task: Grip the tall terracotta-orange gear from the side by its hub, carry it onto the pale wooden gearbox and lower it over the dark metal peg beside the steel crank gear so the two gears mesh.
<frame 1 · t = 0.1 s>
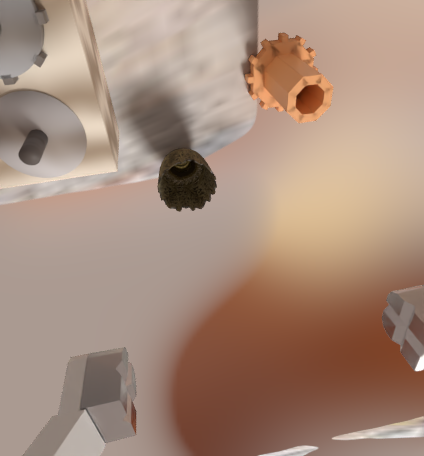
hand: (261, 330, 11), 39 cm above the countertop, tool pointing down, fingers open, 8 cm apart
gearbox: (38, 56, 39), on the countertop
orange gear: (279, 72, 44), on the countertop
cup: (180, 157, 50), on the countertop
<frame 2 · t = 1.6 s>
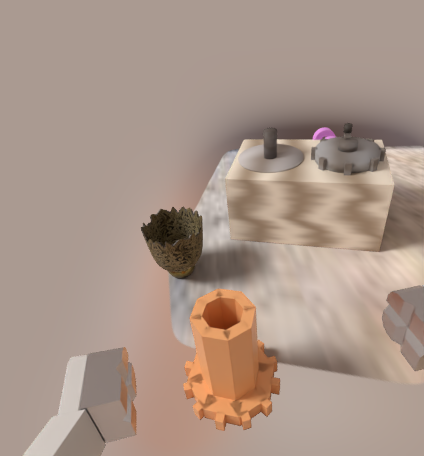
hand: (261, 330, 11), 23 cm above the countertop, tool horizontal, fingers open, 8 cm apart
gearbox: (303, 218, 53), on the countertop
orange gear: (231, 381, 33), on the countertop
bracket: (300, 172, 66), on the countertop
cup: (182, 271, 47), on the countertop
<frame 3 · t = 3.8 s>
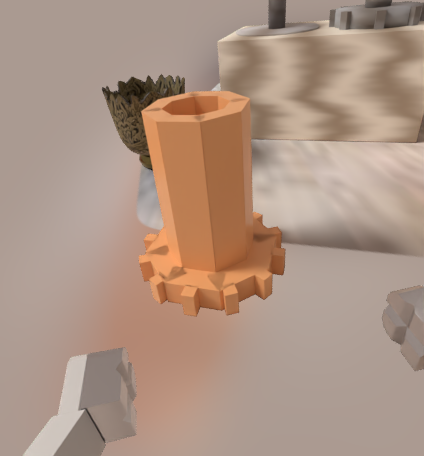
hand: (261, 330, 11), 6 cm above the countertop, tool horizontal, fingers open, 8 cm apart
gearbox: (316, 120, 43), on the countertop
orange gear: (213, 262, 22), on the countertop
cup: (159, 165, 36), on the countertop
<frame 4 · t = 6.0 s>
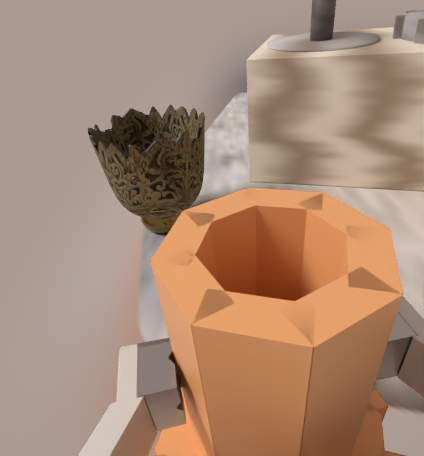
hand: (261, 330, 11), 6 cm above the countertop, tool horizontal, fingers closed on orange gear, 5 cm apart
gearbox: (365, 155, 33), on the countertop
orange gear: (268, 450, 13), on the countertop, touching gripper
cup: (167, 225, 27), on the countertop
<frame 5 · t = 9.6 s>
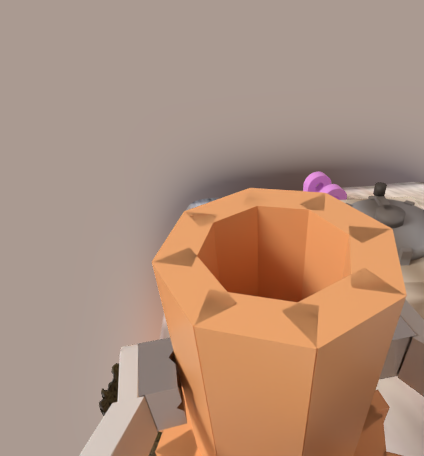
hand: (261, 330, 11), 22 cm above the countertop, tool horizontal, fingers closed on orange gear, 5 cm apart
gearbox: (321, 307, 39), on the countertop
orange gear: (270, 451, 13), point 16 cm above the countertop, touching gripper
bracket: (292, 228, 52), on the countertop
cup: (170, 438, 29), on the countertop
when the fingers open (17 cm above the countertop, at t = 13.0 s): orange gear drops 1 cm, resting on gearbox.
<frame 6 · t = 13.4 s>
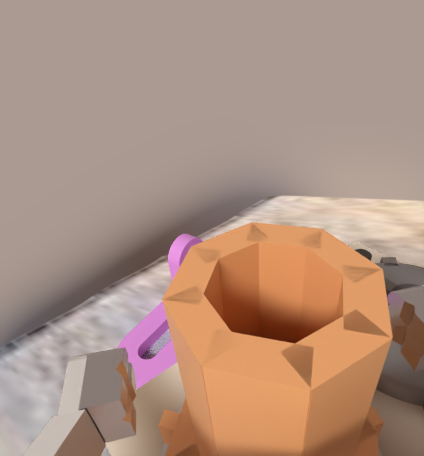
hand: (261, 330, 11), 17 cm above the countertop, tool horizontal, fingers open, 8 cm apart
bracket: (179, 331, 33), on the countertop
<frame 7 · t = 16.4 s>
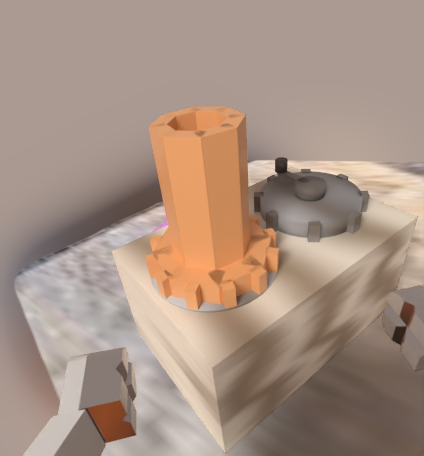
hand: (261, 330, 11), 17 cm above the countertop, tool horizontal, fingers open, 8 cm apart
gearbox: (265, 319, 33), on the countertop
orange gear: (213, 260, 24), point 10 cm above the countertop, touching gearbox
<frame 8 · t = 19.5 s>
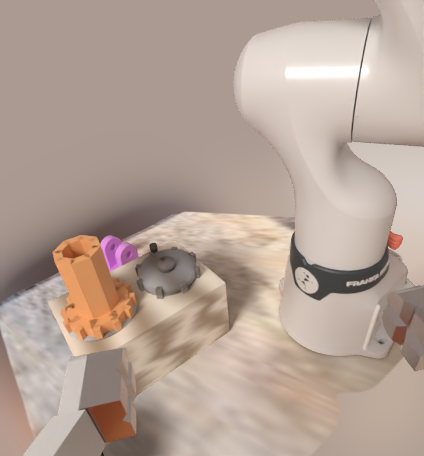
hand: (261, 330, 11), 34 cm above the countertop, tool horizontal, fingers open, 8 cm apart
gearbox: (150, 339, 52), on the countertop
orange gear: (101, 310, 44), point 10 cm above the countertop, touching gearbox
bracket: (106, 286, 63), on the countertop
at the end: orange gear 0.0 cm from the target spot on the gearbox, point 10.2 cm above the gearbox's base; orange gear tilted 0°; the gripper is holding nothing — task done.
